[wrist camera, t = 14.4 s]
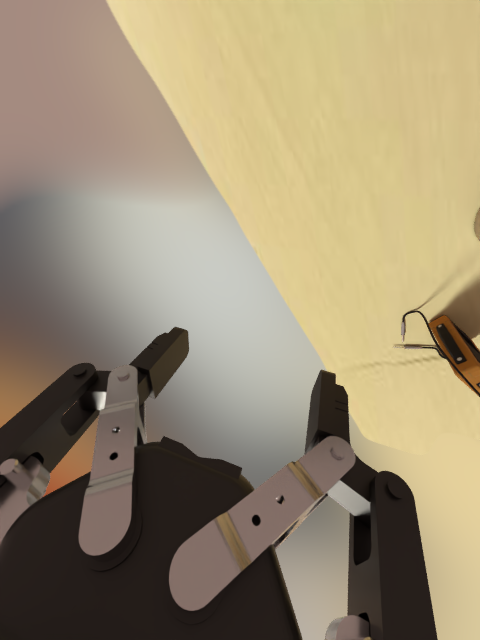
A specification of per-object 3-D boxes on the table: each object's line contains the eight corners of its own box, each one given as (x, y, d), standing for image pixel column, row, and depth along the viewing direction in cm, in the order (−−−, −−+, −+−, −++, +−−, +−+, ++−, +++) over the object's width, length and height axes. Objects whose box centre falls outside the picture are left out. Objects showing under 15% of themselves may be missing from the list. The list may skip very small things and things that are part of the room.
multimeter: (374, 331, 46) (394, 421, 30) (428, 298, 40) (487, 391, 24) (426, 376, 48) (470, 484, 32) (486, 352, 42) (575, 471, 26)
